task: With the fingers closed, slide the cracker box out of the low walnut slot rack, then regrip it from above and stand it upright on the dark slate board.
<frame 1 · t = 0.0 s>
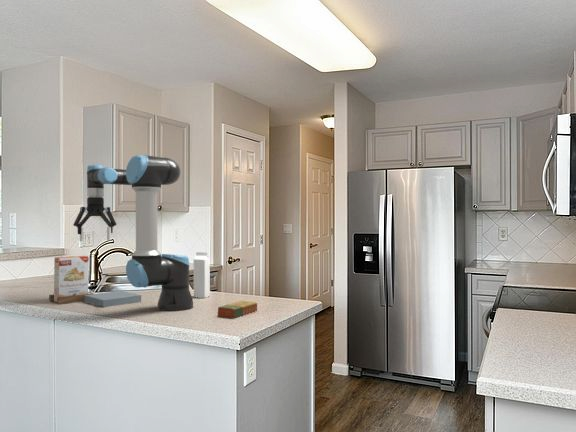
hand: (95, 240, 227), 28 cm above the countertop, fingers open, 13 cm apart
carton: (237, 315, 189), on the countertop
slot rack: (71, 300, 221), on the countertop
slate board: (112, 301, 217), on the countertop
cracker box: (71, 301, 221), on the countertop
milk: (201, 297, 230), on the countertop
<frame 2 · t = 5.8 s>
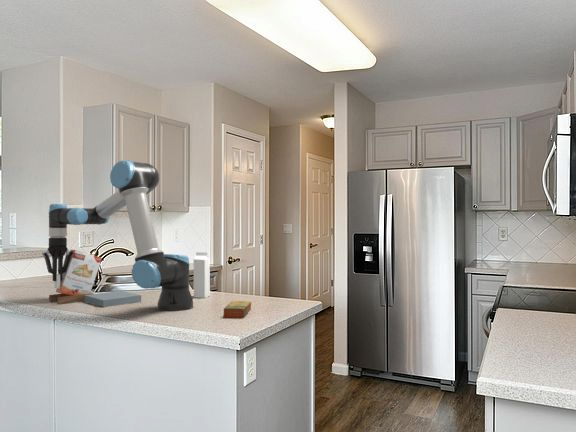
hand: (57, 288, 216), 7 cm above the countertop, fingers closed
cracker box: (72, 296, 221), point 2 cm above the countertop, touching gripper, hand
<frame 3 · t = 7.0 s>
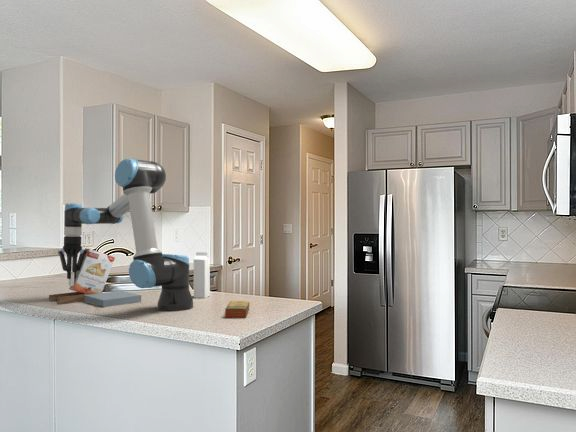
hand: (71, 285, 221), 7 cm above the countertop, fingers closed
cracker box: (84, 294, 226), point 2 cm above the countertop, touching gripper, hand
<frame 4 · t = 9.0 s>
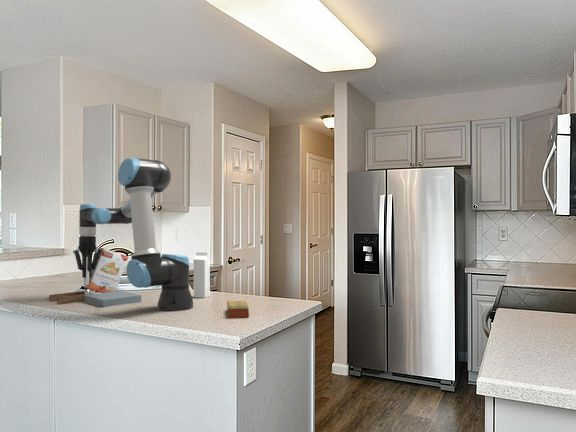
hand: (86, 284, 226), 7 cm above the countertop, fingers closed
cracker box: (99, 292, 231), point 2 cm above the countertop, touching gripper, hand
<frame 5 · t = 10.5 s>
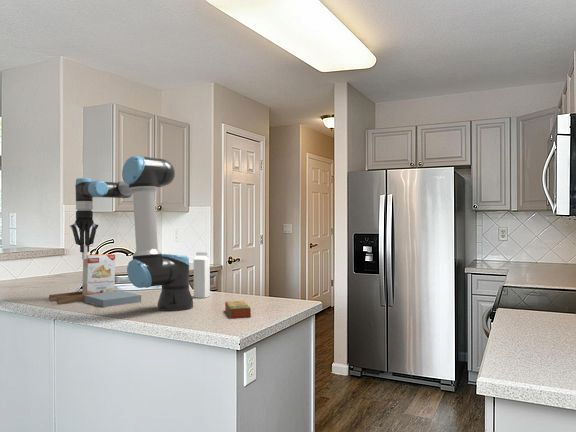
hand: (84, 259, 225), 19 cm above the countertop, fingers closed
cracker box: (98, 297, 231), on the countertop, touching gripper
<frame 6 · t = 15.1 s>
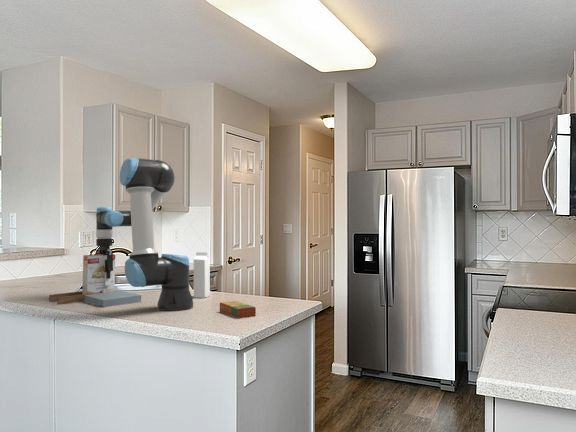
hand: (104, 284, 232), 6 cm above the countertop, fingers closed on cracker box, 6 cm apart
cracker box: (98, 297, 230), on the countertop, touching gripper
when the fingers open (10 cm above the countertop, at t = 22.4 s): cracker box drops 1 cm, resting on slate board.
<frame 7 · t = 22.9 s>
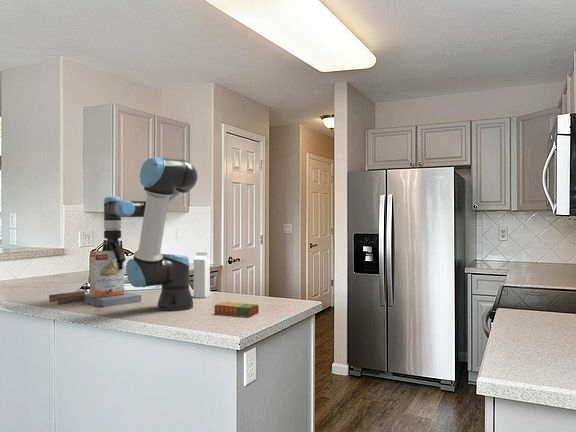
hand: (112, 275, 218), 12 cm above the countertop, fingers open, 13 cm apart
cracker box: (107, 296, 215), point 3 cm above the countertop, touching slate board
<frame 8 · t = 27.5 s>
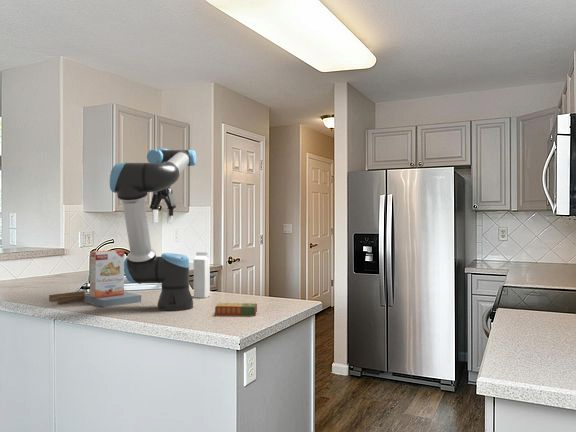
hand: (162, 222, 232), 37 cm above the countertop, fingers open, 13 cm apart
at the end: cracker box inside the target area on the slate board (2.6 cm from its centre), point 2.8 cm above the slate board's base; cracker box tilted 0°; the gripper is holding nothing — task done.
